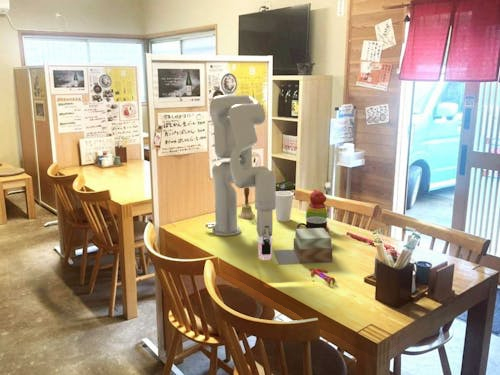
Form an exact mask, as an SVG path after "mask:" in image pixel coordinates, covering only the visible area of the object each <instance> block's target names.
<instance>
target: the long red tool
mask: <svg viewBox="0 0 500 375" xmlns="http://www.w3.org/2000/svg"><path fill="white" fill-rule="evenodd" d="M345 235H346V236H349V237H350V238H352V239H355V240H358V241H361V242H363V243H366V246H369V245H370V246H374V247H376V246H375V245H374V243H373V240H374V239H371V238H369V237H367V238H366V237H364V236H360V235H358V234H355V233H352V232H349V231H346V234H345ZM383 244H384V247H385V248H386V249H394V250H395V247H394V246H392V245H391V244H385V243H383ZM395 251H396V250H395Z"/></svg>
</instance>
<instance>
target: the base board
mask: <svg viewBox="0 0 500 375" xmlns="http://www.w3.org/2000/svg"><path fill="white" fill-rule="evenodd" d="M272 252H273V255H274V258H275V260H276V263H277V265H278V266H279V265H280V266H282V265H307V264H309V265H310V264H330V263H331V264H332V263H334V262H333V260H332V261H329V262H304V263H300V262H299V260H298V258H297V256H296V254H295V252H294V248H293V249H276V250H275V249H272Z"/></svg>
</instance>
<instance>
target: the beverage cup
mask: <svg viewBox="0 0 500 375" xmlns="http://www.w3.org/2000/svg"><path fill="white" fill-rule="evenodd" d="M264 236H265V234H264ZM264 240H265V238H264ZM256 241H257V251H258V252H257V253H258V260H261V261H270V260H271V259H272V252H273V241H274V237H273V235H272V236H271V237H270V244H271V254H267V255H262V244H263V242H262V236H261V237H259V236H257V237H256Z"/></svg>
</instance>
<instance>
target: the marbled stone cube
mask: <svg viewBox="0 0 500 375" xmlns="http://www.w3.org/2000/svg"><path fill="white" fill-rule="evenodd" d="M294 233H295V237H294V238H293V249H294V252H295V254H296V256H297V258H298V260H299V262H300V263H304V262H329V261H332V262H333V247H332V237H331V236H330V234H329V232H326V230H325V229H324V228H308V229H306V228H299V229H297V228H296V229H295V232H294Z"/></svg>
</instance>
